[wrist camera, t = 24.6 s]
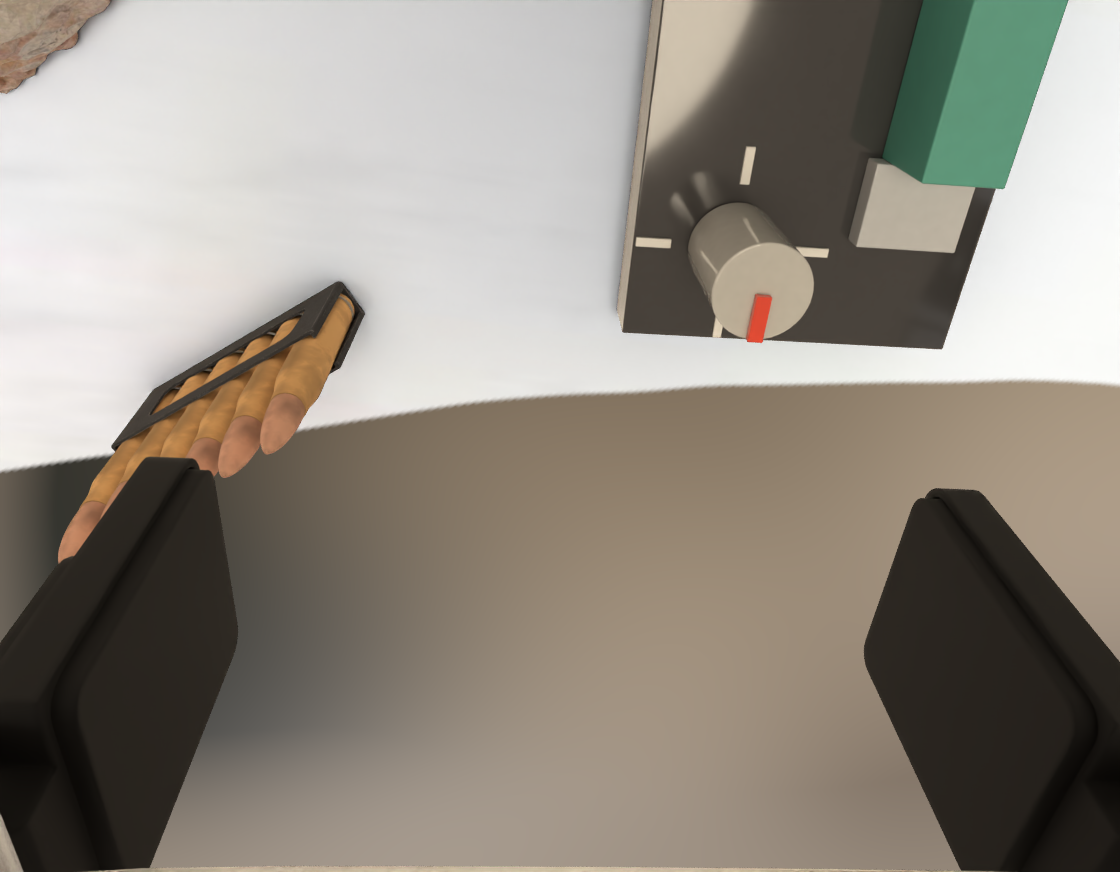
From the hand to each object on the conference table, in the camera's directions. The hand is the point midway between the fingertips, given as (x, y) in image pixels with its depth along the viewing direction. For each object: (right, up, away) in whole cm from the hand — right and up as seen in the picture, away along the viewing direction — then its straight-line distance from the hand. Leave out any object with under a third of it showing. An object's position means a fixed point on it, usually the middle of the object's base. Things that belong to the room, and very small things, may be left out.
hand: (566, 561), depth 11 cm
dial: (+7, +9, +22) cm, 25 cm away
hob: (+10, +15, +22) cm, 29 cm away
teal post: (+14, +15, +20) cm, 28 cm away
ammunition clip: (-14, +6, +27) cm, 31 cm away
